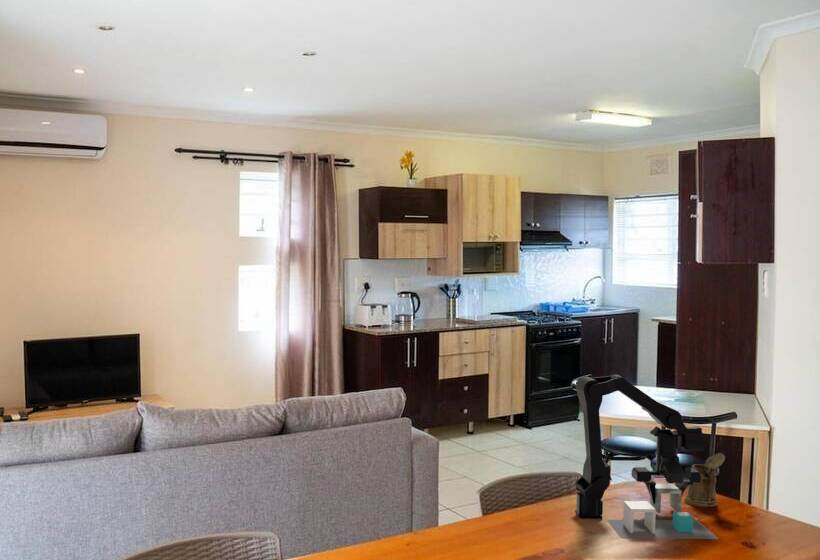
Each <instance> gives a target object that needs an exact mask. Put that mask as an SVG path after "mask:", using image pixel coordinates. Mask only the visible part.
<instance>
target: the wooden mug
mask: <svg viewBox="0 0 820 560" xmlns="http://www.w3.org/2000/svg"><path fill="white" fill-rule="evenodd" d="M725 460H726V455H725V453H722V452H720V451H719V452H716V453H714V454H711V455H710V456H708V457H707V458H706V459H705V461H704V464H702V463H701V464H699V463H697V464H695V463H694V464H692V465H691V468H694V469H696V470H697V471H699V472H700V473H701V476H702V482H701V483H697V482H692V483H693V485H689V486H688V487H687V491H686V495H685V497H684V499H685V500H684V502H685V503H686V504H688V505H690V506H697V507H703V508H710V507H711V508H712V507H716V506H718V499H717V495H716V483H717V473H716V470H717V469H718V468H719V467H721V466H722V464H723V463H724V462H725Z"/></svg>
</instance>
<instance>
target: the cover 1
mask: <svg viewBox="0 0 820 560" xmlns="http://www.w3.org/2000/svg"><path fill="white" fill-rule="evenodd" d="M622 513H623V515H622V516H623V517H622V520H623V525H624V526H625V527H626V528H627V529H628V531H629V532H630V533H633V522H634V520H635V518H634V517H635V513H644V519H643V520H644V525H645V526H646V527H647V528H648V529H649V530H650V531H651V532H652V533H655V520H656V514H657V512H656V509H655V508H654V507H653V506H652V505H651V504H650V501H646V500H645V501H644V500H642V501H640V500H639V501H638V500H623V512H622Z"/></svg>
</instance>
